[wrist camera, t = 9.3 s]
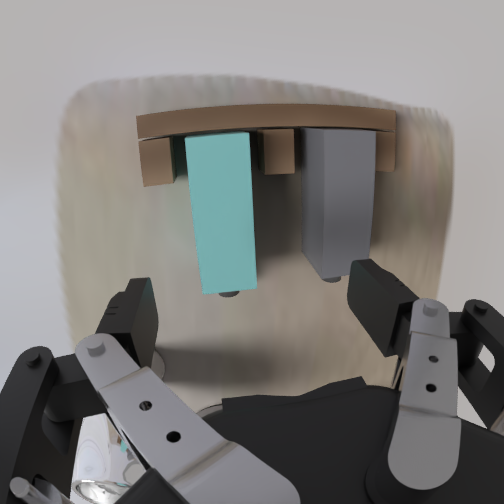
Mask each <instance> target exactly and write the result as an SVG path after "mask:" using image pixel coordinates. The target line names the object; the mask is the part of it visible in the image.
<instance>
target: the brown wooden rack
mask: <svg viewBox="0 0 504 504" xmlns="http://www.w3.org/2000/svg"><path fill="white" fill-rule="evenodd" d="M136 119H137V131H138V139H140V138H147V137H154V136H161V135H169V134H177V133H186V132H195V131H206V130H218V129H231V128H248V127H274V126H334V127H359V128H375V129H388V130H396V111H394V110H386V109H376V108H366V107H353V106H338V105H316V104H256V105H233V106H218V107H205V108H195V109H185V110H176V111H168V112H161V113H153V114H147V115H140V116H136ZM361 130H365V129H361ZM369 131H376V150H375V171H391V172H394V169H395V142H396V133H394V132H387V131H380V130H369ZM257 139H258V162H259V170H260V171H261V172H263V173H264V174H265V175H271V174H289V173H295V168H294V129H288V128H268V129H257ZM139 151H140V161H141V169H142V177H143V185H144V187H146V186H154V185H162V184H170V183H174V181H175V179H176V177H177V175H176V165H175V155H174V143H173V136H168V137H160V138H153V139H146V140H143V141H140V142H139Z"/></svg>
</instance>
